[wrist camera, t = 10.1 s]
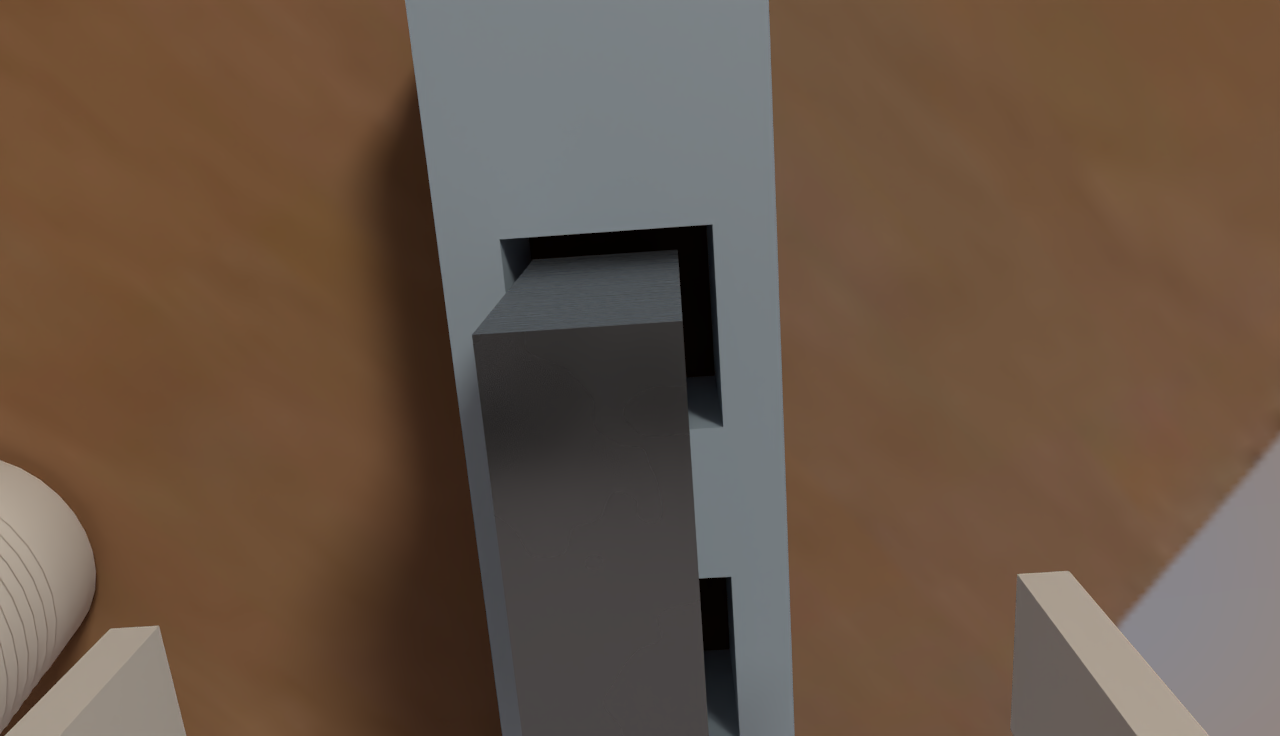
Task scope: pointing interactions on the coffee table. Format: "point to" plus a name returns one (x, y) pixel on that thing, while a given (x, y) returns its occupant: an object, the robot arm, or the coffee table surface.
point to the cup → (37, 583)
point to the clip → (595, 496)
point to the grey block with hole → (618, 201)
